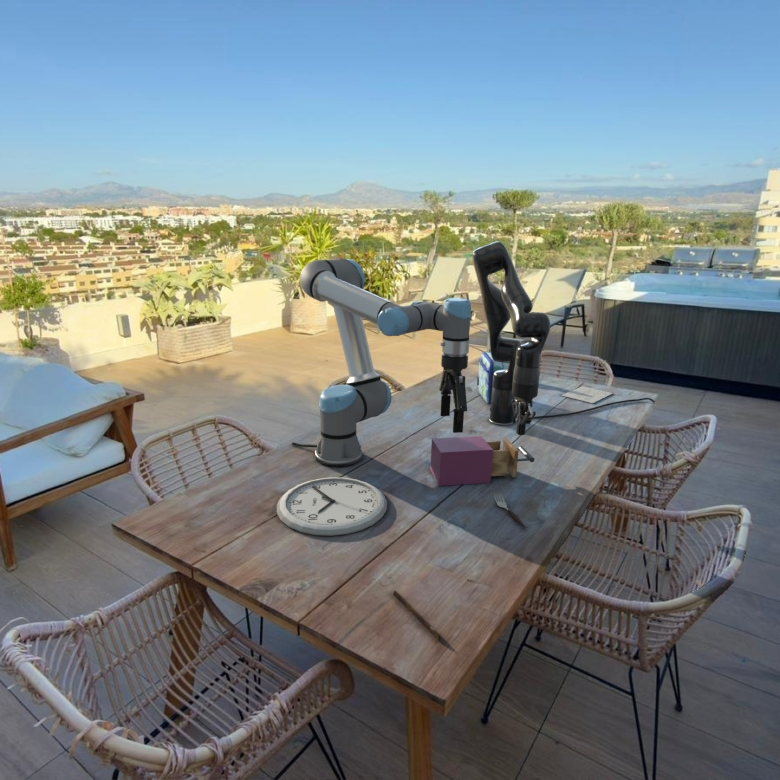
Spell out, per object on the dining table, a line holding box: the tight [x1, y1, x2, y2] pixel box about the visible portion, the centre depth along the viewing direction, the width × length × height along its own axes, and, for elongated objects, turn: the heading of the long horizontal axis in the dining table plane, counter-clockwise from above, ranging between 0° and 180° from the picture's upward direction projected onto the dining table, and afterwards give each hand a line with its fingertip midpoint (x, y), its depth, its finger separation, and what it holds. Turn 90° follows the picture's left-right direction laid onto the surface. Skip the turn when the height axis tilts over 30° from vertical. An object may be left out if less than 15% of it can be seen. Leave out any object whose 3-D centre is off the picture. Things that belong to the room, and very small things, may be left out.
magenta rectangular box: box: [429, 435, 493, 487], centre depth 159 cm, size 16×11×11 cm, turn 100°
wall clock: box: [276, 476, 388, 537], centre depth 142 cm, size 30×2×30 cm
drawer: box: [485, 437, 536, 478], centre depth 161 cm, size 20×9×9 cm, turn 100°
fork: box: [493, 492, 526, 529], centre depth 140 cm, size 3×16×2 cm, turn 15°
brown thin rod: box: [392, 590, 441, 641], centre depth 102 cm, size 15×1×1 cm, turn 34°
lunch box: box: [476, 351, 509, 406], centre depth 230 cm, size 26×11×21 cm, turn 179°
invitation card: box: [560, 385, 613, 404], centre depth 242 cm, size 21×1×15 cm
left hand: (451, 423), depth 155 cm, fingers open, 13 cm apart
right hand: (520, 434), depth 160 cm, fingers closed
